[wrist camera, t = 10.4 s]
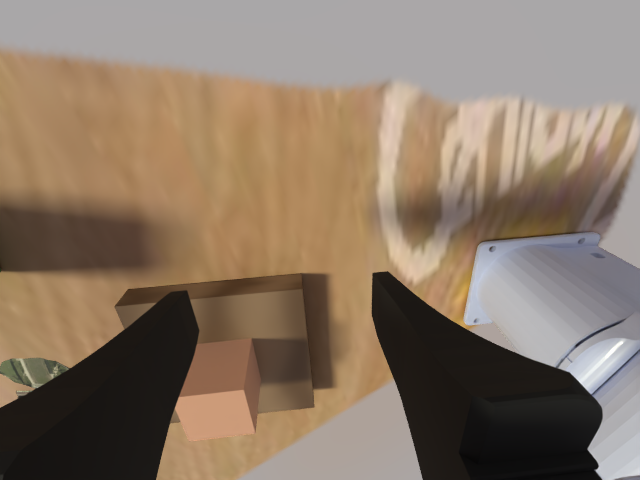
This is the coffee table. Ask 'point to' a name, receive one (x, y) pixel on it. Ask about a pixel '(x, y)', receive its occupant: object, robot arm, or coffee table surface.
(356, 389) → the coffee table surface
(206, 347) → the terracotta block
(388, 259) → the coffee table surface
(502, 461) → the robot arm
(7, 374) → the eiffel tower figurine
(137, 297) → the walnut base
